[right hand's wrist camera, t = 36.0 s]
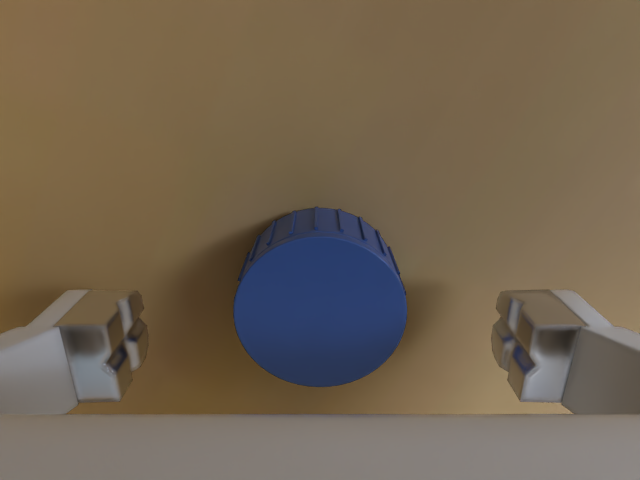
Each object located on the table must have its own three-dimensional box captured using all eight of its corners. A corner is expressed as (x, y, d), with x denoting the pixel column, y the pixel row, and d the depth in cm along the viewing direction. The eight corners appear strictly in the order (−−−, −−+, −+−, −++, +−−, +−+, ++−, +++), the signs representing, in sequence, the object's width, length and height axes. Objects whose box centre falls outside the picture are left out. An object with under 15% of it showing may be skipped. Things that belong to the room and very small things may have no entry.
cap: (306, 173, 11) (303, 196, 9) (426, 266, 12) (447, 304, 10) (215, 288, 12) (196, 329, 10) (331, 364, 13) (333, 415, 11)
